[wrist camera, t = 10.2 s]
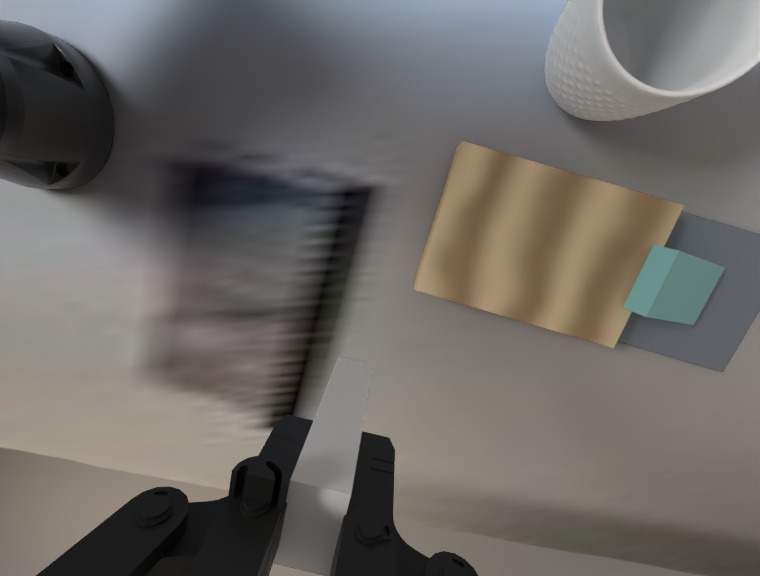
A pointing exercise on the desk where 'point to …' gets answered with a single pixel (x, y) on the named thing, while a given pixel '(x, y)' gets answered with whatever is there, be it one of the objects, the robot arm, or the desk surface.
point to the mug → (647, 53)
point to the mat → (724, 306)
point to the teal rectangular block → (673, 286)
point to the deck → (540, 243)
